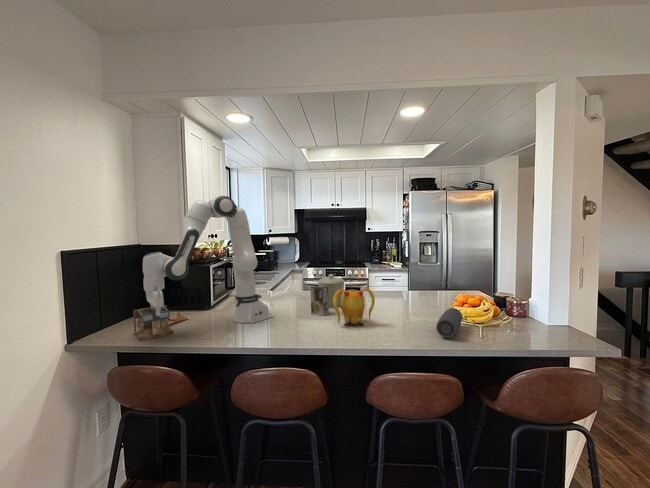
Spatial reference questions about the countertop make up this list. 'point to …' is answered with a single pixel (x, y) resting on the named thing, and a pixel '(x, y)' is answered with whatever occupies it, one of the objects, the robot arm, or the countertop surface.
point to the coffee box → (319, 300)
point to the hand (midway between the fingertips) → (155, 313)
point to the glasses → (154, 316)
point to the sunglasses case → (176, 319)
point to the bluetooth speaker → (449, 322)
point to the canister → (332, 288)
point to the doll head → (352, 306)
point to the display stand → (150, 326)
